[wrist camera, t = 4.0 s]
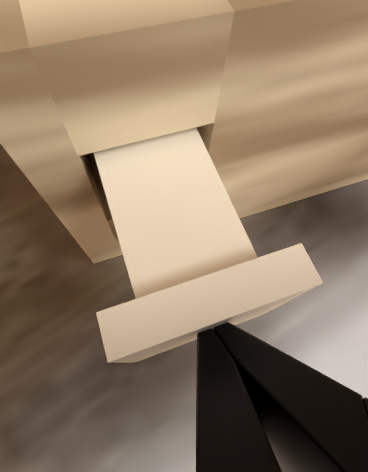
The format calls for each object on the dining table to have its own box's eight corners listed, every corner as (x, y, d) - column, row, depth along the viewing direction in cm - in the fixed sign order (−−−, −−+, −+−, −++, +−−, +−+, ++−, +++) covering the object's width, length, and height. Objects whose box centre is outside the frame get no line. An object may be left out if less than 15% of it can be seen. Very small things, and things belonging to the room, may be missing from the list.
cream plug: (261, 315, 11) (322, 283, 6) (135, 362, 10) (107, 362, 6) (161, 90, 15) (158, -22, 11) (67, 110, 14) (22, -2, 10)
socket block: (435, 157, 19) (744, -80, 9) (93, 263, 15) (-62, 63, 5) (344, 47, 23) (483, -205, 13) (55, 109, 19) (-74, -176, 9)
